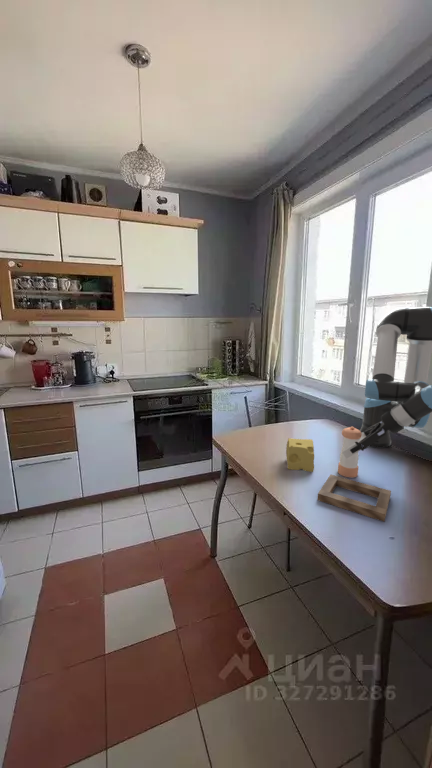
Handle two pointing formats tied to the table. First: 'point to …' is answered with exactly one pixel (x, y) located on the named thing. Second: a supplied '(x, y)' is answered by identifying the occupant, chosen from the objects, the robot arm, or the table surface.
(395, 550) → the table surface
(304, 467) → the cheese
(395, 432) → the robot arm
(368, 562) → the table surface
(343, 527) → the table surface
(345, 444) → the salt shaker
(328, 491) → the rail frame
